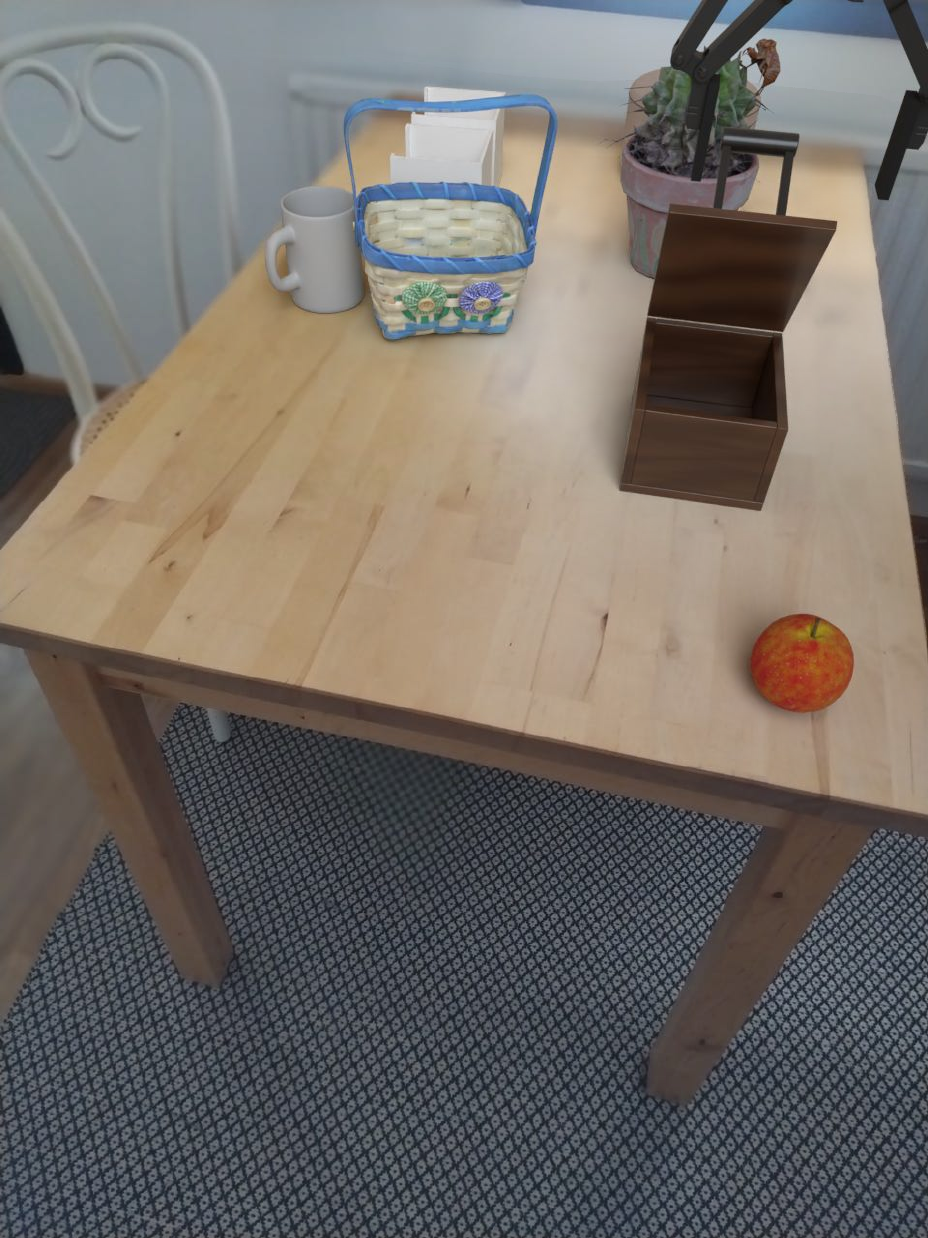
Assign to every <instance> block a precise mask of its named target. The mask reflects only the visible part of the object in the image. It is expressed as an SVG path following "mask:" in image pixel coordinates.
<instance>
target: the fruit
mask: <svg viewBox="0 0 928 1238" xmlns="http://www.w3.org/2000/svg"><path fill="white" fill-rule="evenodd" d="M854 660H855V659H854V652H853V648H852V645H851V643H850V640H849V639H848V637H847V635H846V634H845V632H844V631H842V630H841V629H840V628H839V627H838V626H837V625H835V624H833V623H832V622H831V621H829V620H827V619H825V618H822V617H820V616H818V615H815V614H812V613H811V614H810V613H794V614H788V615H786V616H783V617H780V618H778V619H776V620H775V621H772V622H771V624H769V625H768V626H767V627H766V628H764V630H763V631H762V632H761V633H760V635H758V637H757V639H756V641H755V642H754V644H753V646H752V650H751V654H750V661H749V662H750V664H749V665H750V673H751V677H752V680H753V683H754V685H755V686H756V688H757V690H758V691H759V692H760V694H761V695H762V696H763V697H764V698H765V699H766V700H767V701H768V702H769V703H771V704H772V705H774V706H775V707H778V708H780V709H781V710H782V709H783V710H786V711H790V712H795V713H802V714H805V713H812V712H819V711H822V710H825V709H826V708H827V707H829V706H831V705H833V704H834V703H835V702H836V701H838V700H839V699H840V698H841V697H842V695H843V694H844V693H845V692H846V690H847V689H848V687H849V685H850V682H851V681H852V677H853V674H854V668H855V661H854Z"/></svg>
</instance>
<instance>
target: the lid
mask: <svg viewBox="0 0 928 1238" xmlns="http://www.w3.org/2000/svg"><path fill="white" fill-rule="evenodd" d="M799 142H800V133H797V132H787V131H777V130H766V129H756V128H755V129H746V128H735V127H724V128H723V132H722V137H721V142H720V149H719V150H720V151H721V157H720V164H719V171H718V177H717V184H716V191H715V197H714V204H713V208H708V207H698V206H689V205H679V204H670V205H669V210H668V215H667V220H666V225H665V229H664V234H663V239H662V244H661V249H660V254H659V259H658V264H657V268H656V273H655V278H653V283H652V289H651V293H650V298H649V302H648V303H649V304H648V308H647V314H646V317H651V318H659V319H667V320H675V321H684V322H692V323H701V324H709V325H717V326H726V327H734V328H742V329H751V330H759V331H767V332H777V333H784V332H785V329H786V328H787V326H788V324H789V322H790V320H791V318H792V316H793V315H794V312H795V310H796V308H797V307H798V305H799V303H800V301H801V299H802V297H803V295H804V293H805V291H806V289H807V287H808V286H809V284H810V282H811V280H812V278H813V276H814V274H815V272H816V270H817V268H818V266H819V265H820V262H821V260H822V258H823V257H824V255H825V253H826V251H827V250H828V249H827V248H828V247H829V245H830V243H831V241H832V239H833V237H834V236H835V234H836V232H837V228H838V220H831V219H821V218H811V217H802V216H792V215H787V211H788V210H787V208H788V202H789V195H790V187H791V181H792V172H793V165H794V158H795V157H796V155H797V152H798V148H799ZM731 152H733V153H744V154H754V155H757V156H766V157H776V158H783V159H782V167H781V173H780V181H779V188H778V196H777V203H776V210H775V213H764V212H755V211H746V210H745V211H744V210H738V211H736V210H727V209H722V207H723V200H724V193H725V187H726V180H727V173H728V167H729V160H730V153H731Z"/></svg>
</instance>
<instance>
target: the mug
mask: <svg viewBox="0 0 928 1238" xmlns="http://www.w3.org/2000/svg"><path fill="white" fill-rule="evenodd" d="M279 204H280V215H281V216H280V217H281V223H282V227H281V228H279V229H277V230H276V231H274V232H272V234H270V236H269V237H268V238H267V241H266V243H265V248H264V265H265V270H266V271H265V272H266V274H267V275H266V276H267V278H268V281H269V282H270V285H271V286H272V287H273V288H274V289H275V290H276V291H277V292H280V293H288V292H290V297H291V299H292V301H293V303H294V304H295V305H296V306H297V307H298V308H300V309H302V310H304V311H306V312H310V313H316V314H336V313H342V312H345V311H348V310H351V309H353V308H355V307H357V306H358V305H359V304H360V303H361V302H362V300H363V299H364V295H365V284H364V272H363V260H362V259H363V258H362V256H363V255H362V252H361V248H360V245H359V247H356V242H355V232H354V231H353V226H352V224H353V222H355V213H354V200H353V192H351V191H349V190H347V189H345V188H341V187H338V186H331V185H312V186H304V187H301V188H298V189H294V190H292V191H289V192H288V193H286V194H285V195H284V196H283V197H282V198H281V201H280V203H279ZM283 246H285V254H286V262H287V270H288V271H287V272H288V275H287V276H284V277H280V275H279V272H278V267H277V255H278V251H279V250H280V248H281V247H283Z"/></svg>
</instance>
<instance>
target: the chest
mask: <svg viewBox="0 0 928 1238" xmlns="http://www.w3.org/2000/svg"><path fill="white" fill-rule="evenodd" d="M643 330H644V331H643V335H642V342H641V348H640V353H639V358H638V364H637V369H636V374H635V380H634V387H633V391H632V398H631V403H630V404H631V405H630V411H629V412H630V413H629V419H628V425H627V426H628V427H627V434H626V440H625V448H624V455H623V463H622V469H621V475H620V477H621V478H620V483H619V484H620V485H619V492H620V491H621V492H626V493H635V494H641V495H647V496H655V497H660V498H661V497H662V498H670V499H676V500H682V501H683V500H684V501H690V502H698V503H702V504H703V503H704V504H712V505H718V506H724V507H725V506H726V507H731V508H739V509H745V510H754V511H762V510H763V506H764V503H765V501H766V498H767V495H768V492H769V488H770V485H771V482H772V480H773V477H774V475H775V470H776V467H777V465H778V462H779V458H780V455H781V454H782V449H783V448H784V447H783V446H784V444H785V442H786V438H787V434H788V432H789V419H788V416H789V415H788V401H787V384H786V371H785V370H786V369H785V354H784V342H783V341H784V337H783V332H777V331H768V330H760V329H751V328H743V327H735V326H726V325H718V324H710V323H701V322H693V321H685V320H676V319H668V318H659V317H651V316H646V320H645V325H644V329H643Z"/></svg>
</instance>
